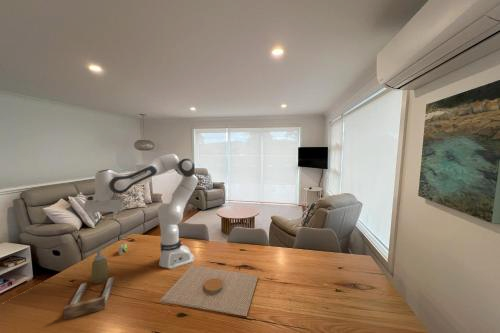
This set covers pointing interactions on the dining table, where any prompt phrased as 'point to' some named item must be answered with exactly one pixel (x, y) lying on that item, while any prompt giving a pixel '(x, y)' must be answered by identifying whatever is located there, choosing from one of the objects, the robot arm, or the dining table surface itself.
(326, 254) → the dining table surface
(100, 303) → the cradle
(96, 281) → the squeeze bottle
